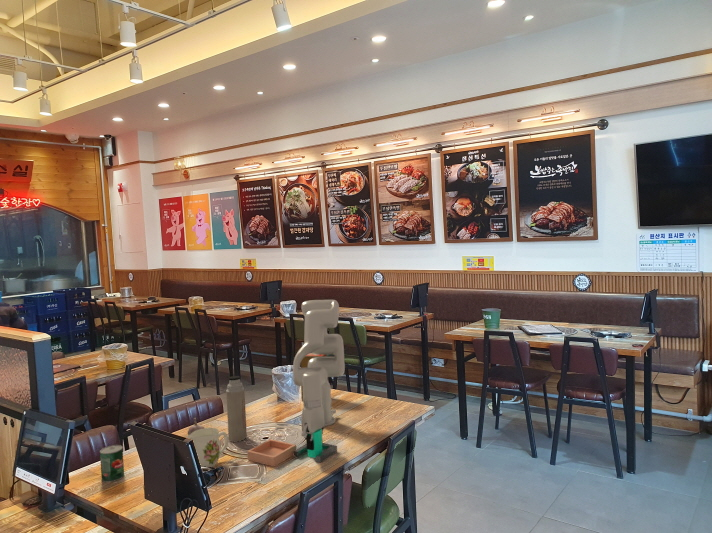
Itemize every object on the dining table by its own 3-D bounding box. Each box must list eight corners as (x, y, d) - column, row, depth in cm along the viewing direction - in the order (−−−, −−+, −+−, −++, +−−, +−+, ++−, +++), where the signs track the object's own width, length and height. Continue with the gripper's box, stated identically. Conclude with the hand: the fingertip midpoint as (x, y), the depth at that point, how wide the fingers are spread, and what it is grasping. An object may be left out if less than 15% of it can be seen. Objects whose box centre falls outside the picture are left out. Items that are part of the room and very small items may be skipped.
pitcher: (236, 460, 206) (234, 426, 205) (196, 476, 193) (194, 440, 192) (221, 453, 213) (219, 420, 213) (181, 468, 200) (179, 434, 199)
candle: (307, 452, 211) (306, 423, 210) (322, 451, 211) (321, 422, 211) (307, 458, 205) (306, 428, 204) (322, 457, 205) (321, 427, 205)
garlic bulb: (184, 436, 234) (183, 419, 234) (196, 431, 241) (195, 414, 240) (196, 439, 231) (195, 421, 230) (208, 433, 237) (207, 416, 237)
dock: (311, 446, 217) (311, 440, 217) (337, 451, 210) (336, 445, 210) (294, 456, 207) (293, 450, 206) (320, 463, 200) (320, 456, 200)
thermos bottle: (249, 435, 232) (246, 374, 231) (242, 442, 224) (239, 379, 223) (233, 434, 234) (230, 374, 232) (225, 441, 226) (222, 379, 225)
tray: (270, 447, 218) (270, 439, 217) (296, 453, 210) (296, 444, 210) (247, 459, 206) (247, 451, 206) (274, 466, 198) (273, 457, 198)
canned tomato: (122, 480, 192) (120, 451, 191) (99, 483, 190) (97, 454, 189) (125, 471, 200) (124, 443, 199) (103, 474, 197) (101, 446, 197)
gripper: (317, 395, 216) (319, 438, 217) (292, 407, 202) (294, 453, 202) (332, 398, 212) (334, 441, 213) (307, 410, 198) (309, 456, 198)
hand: (314, 446), depth 208 cm, fingers closed on candle, 5 cm apart
